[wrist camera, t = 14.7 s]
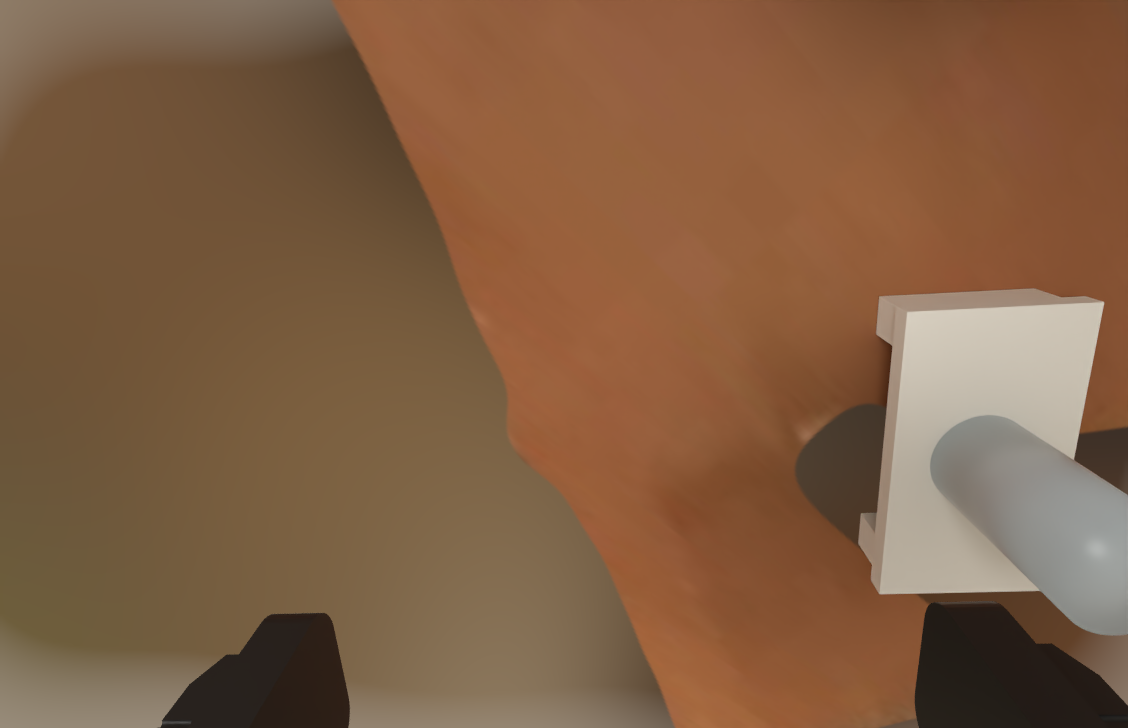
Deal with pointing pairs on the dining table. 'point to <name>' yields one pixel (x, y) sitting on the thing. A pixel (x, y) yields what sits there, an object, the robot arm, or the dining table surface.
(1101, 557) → the white rounded cylinder
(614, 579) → the dining table surface
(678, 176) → the dining table surface
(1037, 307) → the white riser stand
